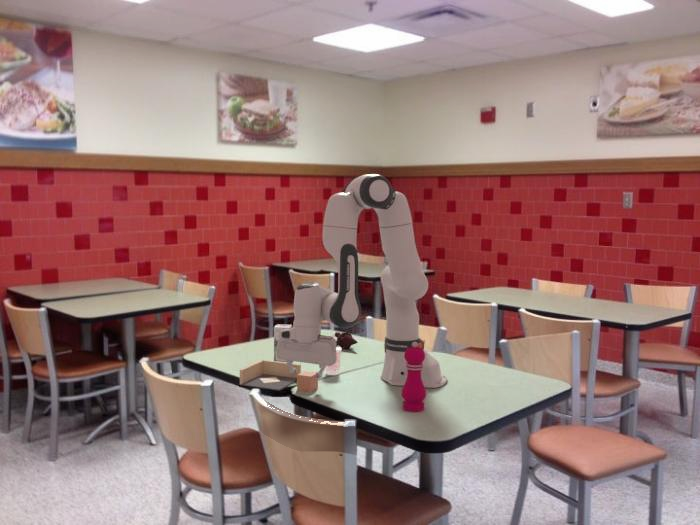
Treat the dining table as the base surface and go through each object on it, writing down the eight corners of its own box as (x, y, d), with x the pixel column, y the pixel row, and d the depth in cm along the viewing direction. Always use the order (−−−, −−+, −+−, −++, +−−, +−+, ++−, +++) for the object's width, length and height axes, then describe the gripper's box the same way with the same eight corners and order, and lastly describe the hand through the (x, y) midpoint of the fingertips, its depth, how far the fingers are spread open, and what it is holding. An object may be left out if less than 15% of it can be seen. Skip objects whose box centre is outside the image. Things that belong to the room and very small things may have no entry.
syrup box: (292, 362, 239) (292, 323, 238) (288, 366, 233) (289, 327, 232) (276, 361, 240) (277, 323, 238) (273, 365, 234) (273, 326, 232)
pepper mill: (423, 404, 191) (425, 338, 189) (427, 412, 184) (429, 344, 182) (399, 404, 191) (401, 338, 189) (402, 412, 184) (404, 344, 182)
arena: (300, 378, 217) (300, 364, 217) (279, 390, 203) (279, 375, 203) (262, 373, 223) (262, 359, 222) (238, 385, 209) (238, 370, 208)
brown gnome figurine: (365, 334, 259) (342, 331, 271) (351, 332, 255) (329, 329, 266) (362, 351, 258) (340, 348, 270) (348, 349, 254) (326, 346, 265)
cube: (317, 387, 207) (318, 372, 207) (311, 391, 203) (311, 376, 202) (304, 385, 209) (304, 371, 209) (297, 390, 205) (297, 374, 204)
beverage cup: (343, 371, 227) (344, 333, 225) (338, 376, 221) (339, 336, 219) (327, 370, 228) (327, 331, 227) (321, 374, 222) (322, 335, 221)
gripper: (340, 335, 203) (339, 377, 205) (283, 328, 211) (283, 369, 213) (332, 338, 198) (331, 382, 199) (274, 331, 205) (273, 374, 207)
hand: (305, 375), depth 206 cm, fingers open, 8 cm apart
